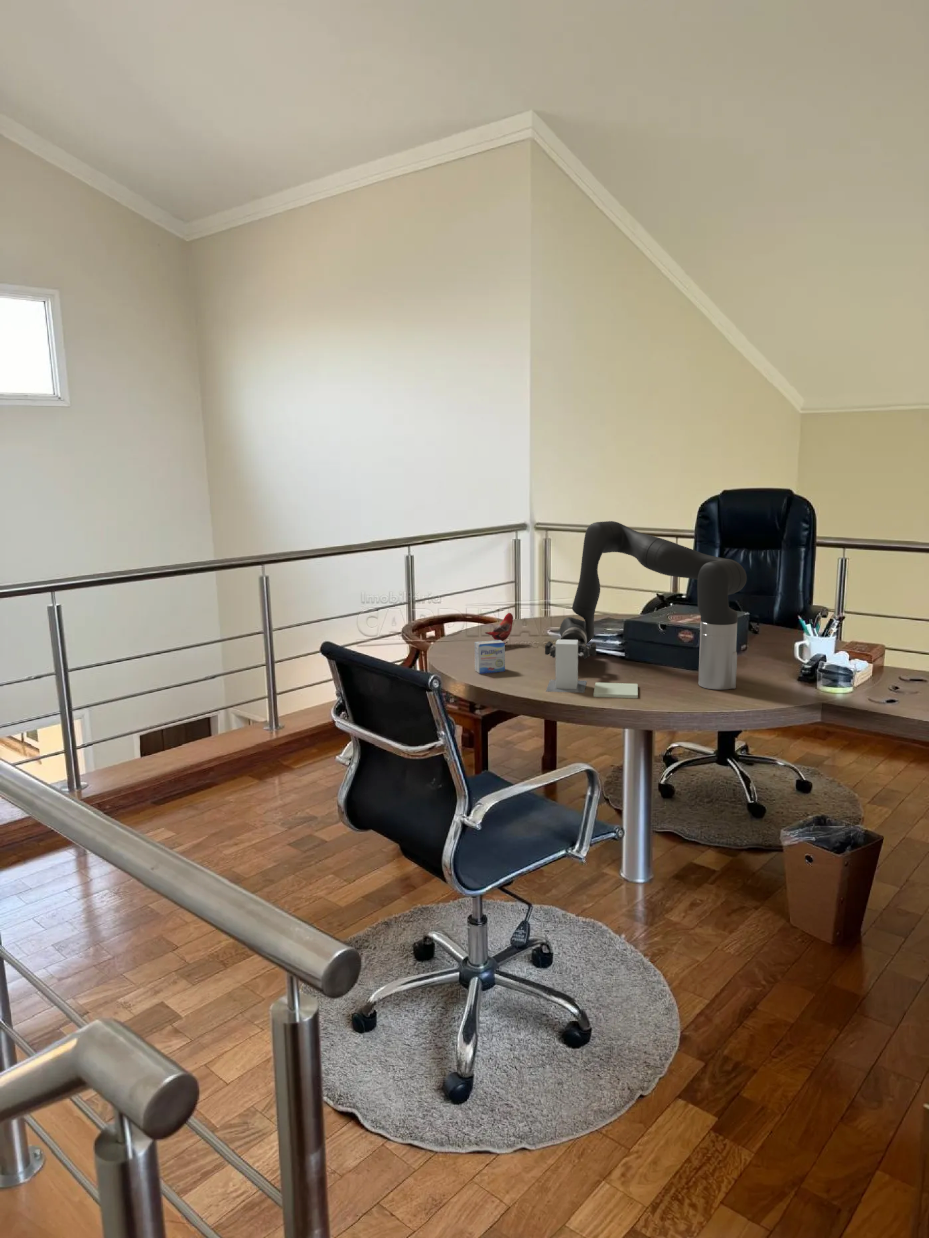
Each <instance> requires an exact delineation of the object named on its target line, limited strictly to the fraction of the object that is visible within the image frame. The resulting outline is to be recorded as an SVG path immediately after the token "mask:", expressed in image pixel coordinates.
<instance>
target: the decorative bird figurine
mask: <svg viewBox="0 0 929 1238" xmlns="http://www.w3.org/2000/svg"><path fill="white" fill-rule="evenodd" d="M502 619H503V620H502V621H501V622H500V623H499V624H497V625H496V627H494V629H493V630H492V631H487V632H484V634H486V635H488V636H489V635H490V636H491V637H492V639H494V641H495V640H501V641H503V642H504V641H506V640H507V639H508V638H509V636H510V635H511V633H512V629H513V628H512V627H513V624H514V615H513V614H512V612H507V614H505V616H504V617H503V618H502ZM504 643H505V645H506V644H507V643H508V641H507V642H504Z"/></svg>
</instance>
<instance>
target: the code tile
mask: <svg viewBox="0 0 929 1238" xmlns="http://www.w3.org/2000/svg"><path fill="white" fill-rule="evenodd" d="M555 681H556V679H549V682H548V684H547V687H546V689H545V692H548V693H549V692H550V693H551V692H552V693H553V692H554V693H580V694H582V693H583V694H584V693H586V692H585V691H586V687H587V682H588V680H580V679H578V685H577V689H562V688H555Z"/></svg>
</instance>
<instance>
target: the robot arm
mask: <svg viewBox="0 0 929 1238" xmlns="http://www.w3.org/2000/svg"><path fill="white" fill-rule="evenodd" d="M608 553H620V554H624V555H629V556H631V557H633V558H635V559H636V560H637V561H638V563H639V564H640V565H641V566H642V567H644V568H646V569H647V570H649V571H653V572H655V573H658V574H660V575H665V576H668V577H675V578H683V579H692V580H697V608H698V613H699V615H700V624H699V625H700V627H699V630H700V632H699V655H698V657H699V658H698V685H699V686H700V687H702V688H704V689H709V690H729V689H730V690H731V689H736V686H737V665H738V664H737V663H738V652H737V638H738V635H737V634H738V612H737V610H735V609H733V608H731V607H730V606H729V595H733V594H735V593H738V592H740V591H741V590H742V589H743V588H744V587H745V585H746V583H747V580H748V577H747V573H746V570H745V569H744V567H743V566H742V565H741V564H740V563H739V562H737V561H736V560H733V559H731V558H724V557H718V556H716V555H715V556H714V555H709V554H706V553H702V552H700V551H697V550H695V549H692V548H690V547H687V546H684V545H681V544H679V543H676V542H674V541H670V540H668V539H664V538H660V537H657V536H654V535H652V534H648V533H647V534H646V533H641V532H640V531H636V530H634V529H633V528H630V527H628V526H627V525H625V524H623V523H621V522H617V521H613V520H609V521H608V520H607V521H596V522H592V523H591V524H590V525H588V526H587V528H586V531H585V535H584V539H583V547H582V555H581V556H582V557H581V563H580V564H581V566H580V574H579V581H578V585H577V589H576V592H575V595H574V599H573V602H572V607H571V609H572V611H573V612H574V614H576V615H578V616H579V617H580V618H582V619H583V620H582V619H580V618H579V619H578V618H574V617H566V618H564V619H563V620H562V622H561V623H560V627H559V635H560V640H578V657H583V659H587V658H589V657H590V655H591V656H593V657H596V656H597V642H591V643H588V642H589V641H590V640H591V639H592V638H593V639H594V636H595V613H596V609H597V605H598V602H599V598H600V596H601V595H600V594H601V583H600V579H599V578H600V577H599V574H598V573H599V571H598V567H599V563H600V560H601V558H602V555H603V554H608ZM593 639H592V640H593ZM587 643H588V644H587ZM544 654H545V655H549V656H550V657H552V658H553V659H554V658H555V659H556V644H554V643H553V642H552V641H551V640H550V641H547V642H546V644H545V645H544Z"/></svg>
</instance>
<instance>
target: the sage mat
mask: <svg viewBox="0 0 929 1238" xmlns="http://www.w3.org/2000/svg"><path fill="white" fill-rule="evenodd" d="M594 683H595V684H594V690H593V697H594V698H613V699H614V698H618V699H639V697H638V693H639V690H638V686H639V685H638V683H625V682H624V683H622V682H619V683H618V682H594Z"/></svg>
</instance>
